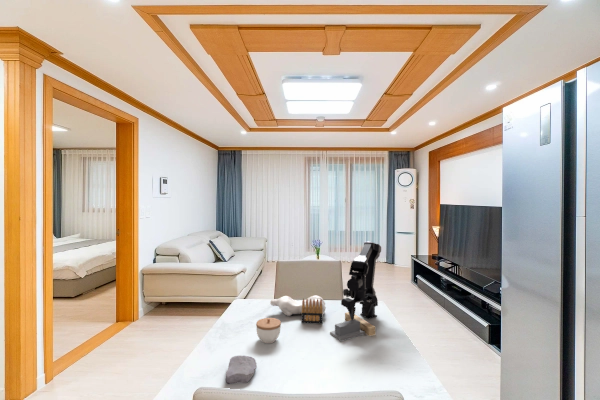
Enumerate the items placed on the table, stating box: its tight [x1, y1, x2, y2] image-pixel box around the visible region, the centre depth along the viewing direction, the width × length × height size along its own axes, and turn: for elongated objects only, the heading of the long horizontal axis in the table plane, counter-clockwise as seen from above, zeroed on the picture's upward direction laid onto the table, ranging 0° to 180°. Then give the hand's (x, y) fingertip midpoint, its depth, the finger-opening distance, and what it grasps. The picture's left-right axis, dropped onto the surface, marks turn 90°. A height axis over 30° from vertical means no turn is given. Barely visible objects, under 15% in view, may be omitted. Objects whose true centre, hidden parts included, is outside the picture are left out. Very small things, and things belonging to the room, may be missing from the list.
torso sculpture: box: [269, 294, 327, 317], centre depth 160 cm, size 16×11×30 cm
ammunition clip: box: [300, 298, 324, 325], centre depth 148 cm, size 11×2×12 cm, turn 87°
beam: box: [344, 311, 376, 337], centre depth 143 cm, size 20×4×4 cm, turn 24°
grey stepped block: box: [329, 319, 366, 342], centre depth 135 cm, size 14×8×5 cm, turn 121°
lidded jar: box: [255, 317, 282, 344], centre depth 129 cm, size 11×11×9 cm
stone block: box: [225, 355, 258, 385], centre depth 104 cm, size 12×5×10 cm
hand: (359, 317), depth 143 cm, fingers open, 9 cm apart
